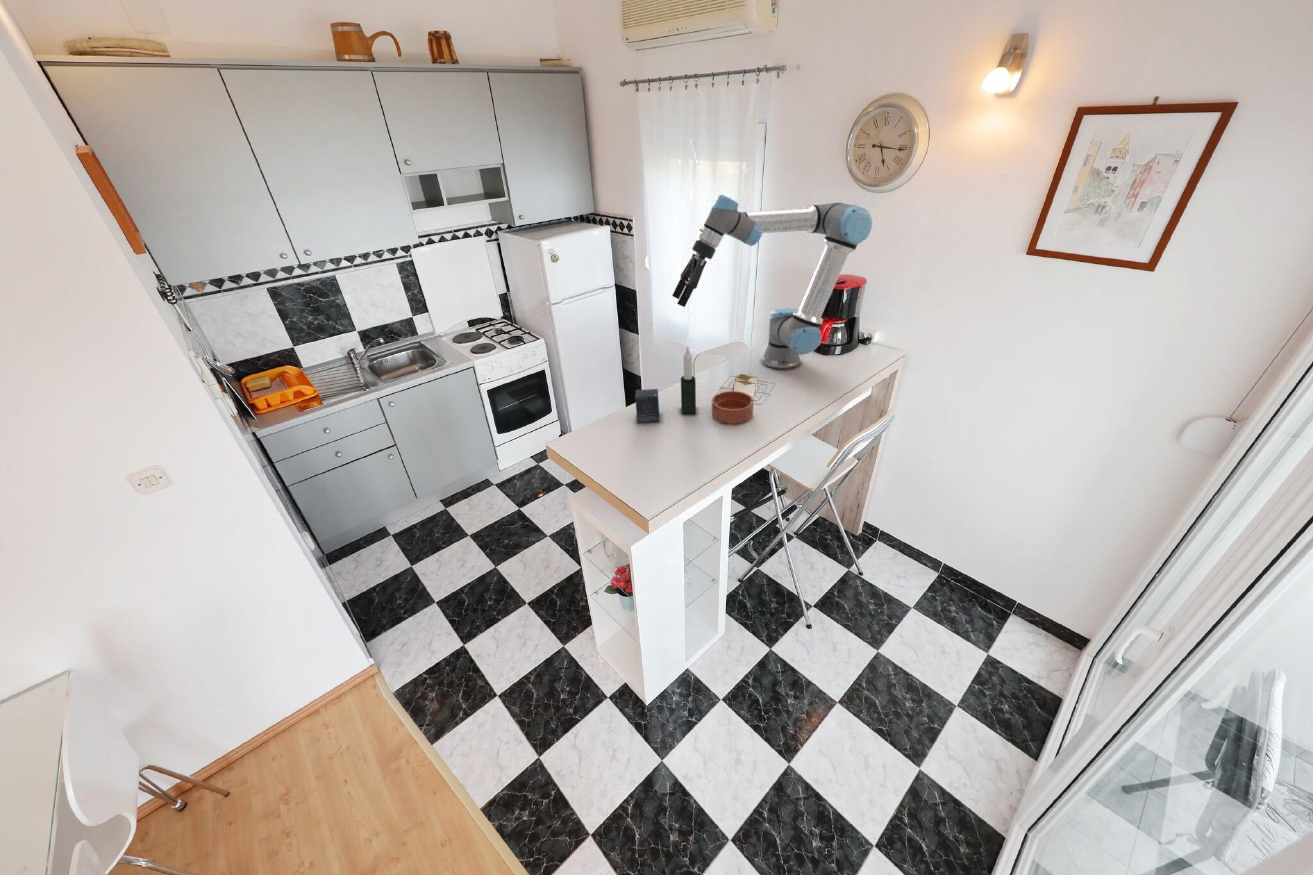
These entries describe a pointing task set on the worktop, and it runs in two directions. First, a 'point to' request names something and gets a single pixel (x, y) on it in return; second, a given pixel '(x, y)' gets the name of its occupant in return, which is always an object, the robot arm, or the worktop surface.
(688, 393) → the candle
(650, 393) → the box
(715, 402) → the bowl
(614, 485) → the worktop surface
